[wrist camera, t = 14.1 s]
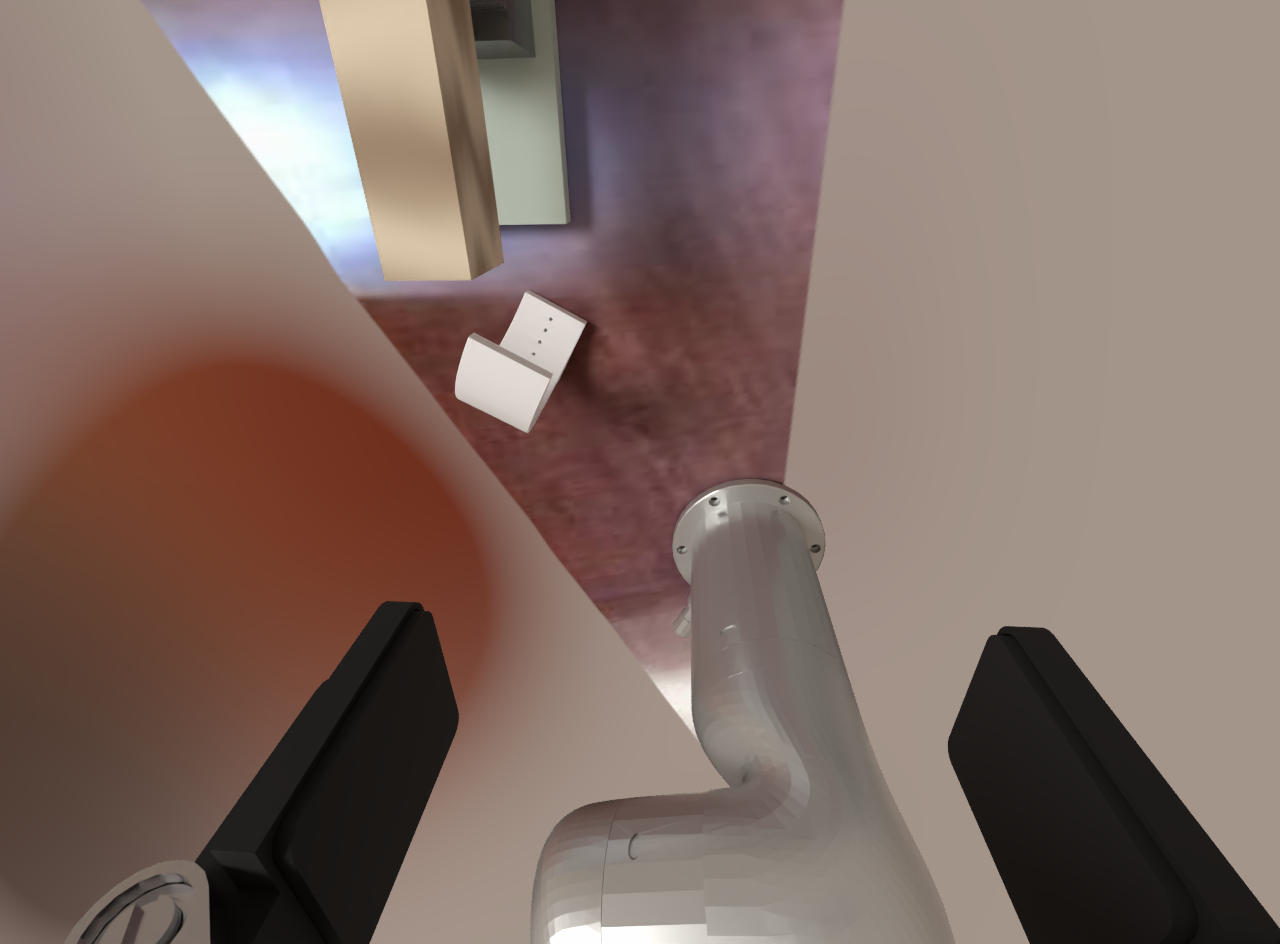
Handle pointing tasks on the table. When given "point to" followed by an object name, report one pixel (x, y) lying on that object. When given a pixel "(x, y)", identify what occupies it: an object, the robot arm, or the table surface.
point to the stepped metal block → (503, 28)
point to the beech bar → (418, 134)
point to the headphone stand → (519, 362)
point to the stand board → (528, 128)
